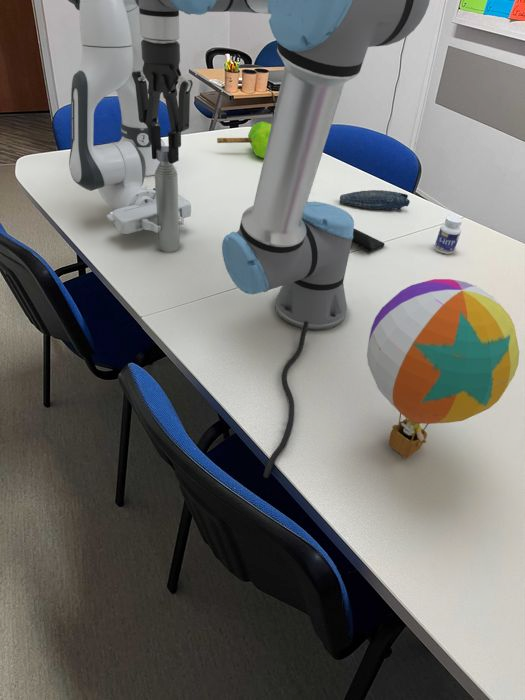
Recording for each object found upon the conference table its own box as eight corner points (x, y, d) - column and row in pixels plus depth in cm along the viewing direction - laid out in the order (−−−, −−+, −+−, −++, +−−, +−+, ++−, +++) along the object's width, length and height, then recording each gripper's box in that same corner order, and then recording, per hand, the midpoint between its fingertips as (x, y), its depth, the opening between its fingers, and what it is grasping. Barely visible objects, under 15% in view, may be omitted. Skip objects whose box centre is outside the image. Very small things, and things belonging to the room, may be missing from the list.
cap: (158, 162, 115) (157, 152, 113) (154, 156, 117) (154, 146, 116) (176, 161, 116) (175, 151, 114) (172, 155, 119) (171, 145, 117)
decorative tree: (214, 118, 187) (294, 118, 193) (214, 147, 194) (292, 146, 199) (220, 132, 174) (307, 132, 179) (220, 164, 180) (304, 162, 185)
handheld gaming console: (388, 238, 139) (380, 215, 131) (377, 260, 138) (367, 239, 130) (351, 229, 145) (341, 207, 137) (340, 251, 144) (328, 230, 136)
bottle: (159, 252, 128) (154, 156, 113) (157, 243, 132) (152, 148, 117) (180, 251, 129) (178, 156, 114) (178, 241, 133) (175, 148, 118)
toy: (318, 439, 84) (351, 278, 65) (393, 389, 94) (440, 239, 76) (417, 524, 73) (492, 360, 54) (489, 457, 83) (573, 301, 65)
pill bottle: (433, 251, 139) (442, 220, 133) (435, 243, 143) (444, 213, 137) (453, 256, 138) (464, 225, 132) (454, 247, 142) (465, 217, 136)
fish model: (408, 214, 157) (412, 198, 153) (339, 207, 158) (341, 191, 154) (406, 206, 162) (410, 190, 159) (339, 199, 163) (341, 183, 160)
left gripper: (101, 202, 126) (131, 224, 118) (172, 186, 137) (203, 204, 130) (104, 227, 130) (133, 248, 122) (173, 208, 141) (203, 227, 134)
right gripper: (207, 44, 102) (206, 163, 117) (136, 31, 107) (144, 147, 122) (186, 48, 97) (188, 172, 111) (113, 35, 102) (124, 156, 116)
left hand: (170, 225), depth 126 cm, fingers closed on bottle, 5 cm apart
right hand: (165, 159), depth 117 cm, fingers closed on cap, 4 cm apart
